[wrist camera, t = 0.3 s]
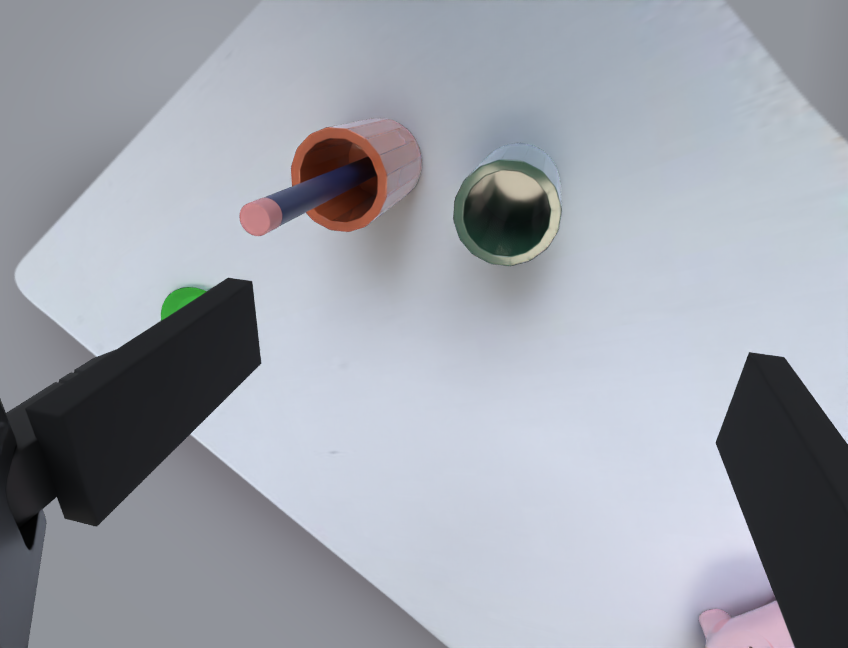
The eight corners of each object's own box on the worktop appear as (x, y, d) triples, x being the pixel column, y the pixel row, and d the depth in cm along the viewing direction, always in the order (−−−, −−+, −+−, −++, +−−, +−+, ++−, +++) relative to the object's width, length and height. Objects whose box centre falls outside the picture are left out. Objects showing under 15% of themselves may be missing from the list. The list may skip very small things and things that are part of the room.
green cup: (478, 139, 37) (457, 155, 29) (566, 145, 36) (568, 164, 28) (471, 224, 40) (450, 259, 32) (553, 232, 39) (552, 271, 31)
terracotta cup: (343, 115, 39) (287, 124, 31) (423, 120, 38) (387, 131, 30) (344, 198, 41) (293, 226, 33) (420, 205, 40) (386, 236, 32)
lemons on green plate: (237, 375, 51) (221, 390, 48) (162, 345, 51) (142, 359, 49) (249, 303, 47) (231, 316, 45) (168, 272, 48) (146, 282, 45)
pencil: (370, 151, 39) (237, 201, 23) (389, 152, 38) (268, 204, 22) (370, 171, 39) (240, 234, 23) (389, 173, 39) (271, 238, 23)
